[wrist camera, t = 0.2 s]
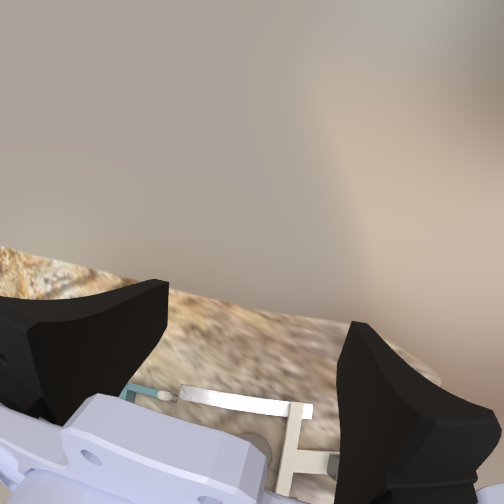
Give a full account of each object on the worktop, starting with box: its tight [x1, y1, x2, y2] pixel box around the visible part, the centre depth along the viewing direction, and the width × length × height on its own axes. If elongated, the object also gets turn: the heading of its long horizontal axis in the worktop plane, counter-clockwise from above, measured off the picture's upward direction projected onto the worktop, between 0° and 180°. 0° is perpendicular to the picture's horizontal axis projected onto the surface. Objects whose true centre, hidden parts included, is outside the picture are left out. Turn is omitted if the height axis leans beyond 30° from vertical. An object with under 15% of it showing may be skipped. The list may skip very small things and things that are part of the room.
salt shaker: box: [237, 433, 272, 468], centre depth 29 cm, size 6×6×13 cm
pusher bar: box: [274, 402, 340, 497], centre depth 30 cm, size 15×8×8 cm, turn 171°
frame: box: [119, 382, 178, 403], centre depth 34 cm, size 12×7×5 cm, turn 171°
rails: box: [179, 384, 313, 500], centre depth 35 cm, size 15×17×1 cm
